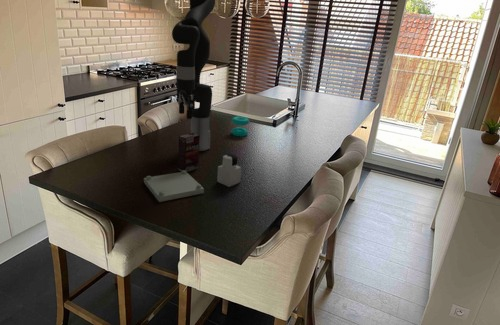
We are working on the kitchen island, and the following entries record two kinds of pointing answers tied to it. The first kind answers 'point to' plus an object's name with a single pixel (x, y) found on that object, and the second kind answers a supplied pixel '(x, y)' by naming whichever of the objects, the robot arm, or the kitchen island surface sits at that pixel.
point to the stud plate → (173, 186)
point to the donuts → (239, 130)
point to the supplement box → (188, 152)
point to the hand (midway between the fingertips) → (185, 116)
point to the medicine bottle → (229, 171)
